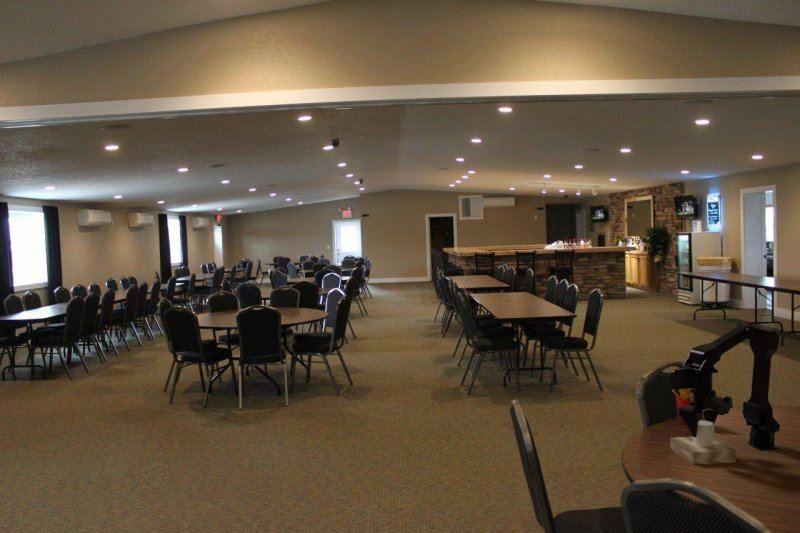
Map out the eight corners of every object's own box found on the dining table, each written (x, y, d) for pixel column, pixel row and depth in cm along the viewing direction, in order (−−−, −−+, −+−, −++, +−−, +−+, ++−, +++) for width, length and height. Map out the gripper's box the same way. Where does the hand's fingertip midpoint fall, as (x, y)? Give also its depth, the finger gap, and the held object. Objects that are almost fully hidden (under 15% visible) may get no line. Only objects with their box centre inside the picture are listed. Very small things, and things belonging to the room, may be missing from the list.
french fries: (689, 420, 233) (689, 382, 233) (705, 426, 225) (705, 387, 225) (670, 422, 231) (670, 384, 230) (685, 429, 223) (686, 389, 222)
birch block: (710, 448, 205) (710, 435, 205) (736, 464, 191) (736, 450, 191) (670, 450, 204) (670, 437, 204) (693, 466, 190) (693, 452, 190)
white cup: (717, 448, 193) (717, 426, 193) (694, 447, 194) (694, 425, 194) (711, 440, 200) (711, 419, 199) (688, 439, 201) (688, 419, 201)
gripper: (711, 396, 184) (711, 447, 185) (742, 387, 195) (742, 434, 196) (677, 389, 194) (677, 437, 194) (708, 380, 204) (708, 426, 205)
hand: (702, 434), depth 197 cm, fingers open, 9 cm apart
